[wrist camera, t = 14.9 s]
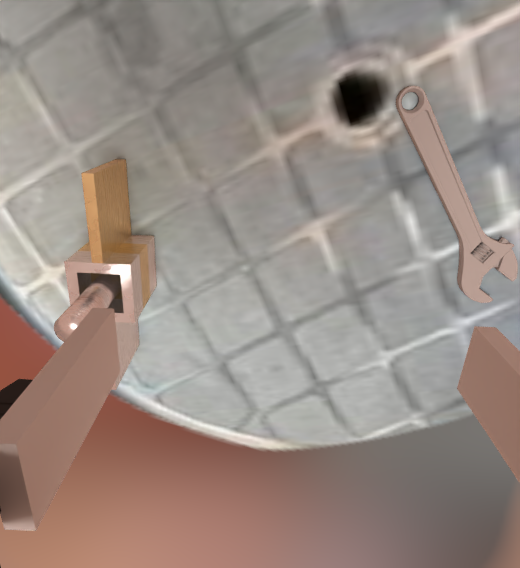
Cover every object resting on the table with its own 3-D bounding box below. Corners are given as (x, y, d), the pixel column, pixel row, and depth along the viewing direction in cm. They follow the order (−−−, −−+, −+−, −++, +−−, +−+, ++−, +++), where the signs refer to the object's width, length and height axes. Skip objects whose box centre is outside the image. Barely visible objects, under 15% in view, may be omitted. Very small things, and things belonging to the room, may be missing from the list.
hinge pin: (117, 248, 48) (51, 315, 33) (139, 249, 48) (84, 316, 33) (119, 269, 49) (56, 343, 34) (141, 270, 49) (87, 344, 34)
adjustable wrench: (388, 95, 42) (393, 95, 40) (452, 62, 41) (460, 60, 39) (463, 302, 50) (470, 308, 49) (518, 279, 49) (527, 285, 48)
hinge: (91, 157, 44) (51, 171, 36) (150, 160, 44) (123, 175, 36) (111, 342, 53) (82, 388, 44) (159, 345, 53) (140, 390, 44)
